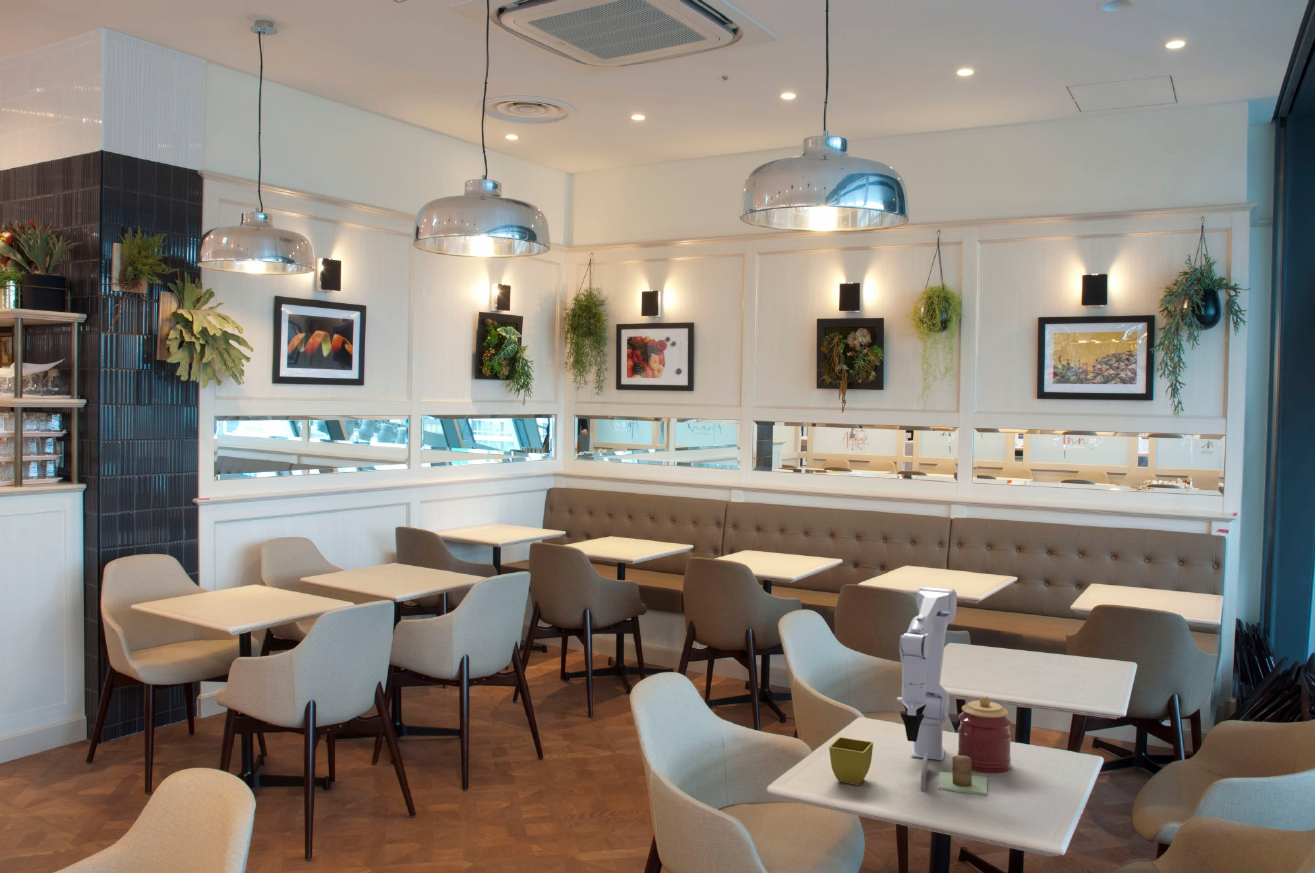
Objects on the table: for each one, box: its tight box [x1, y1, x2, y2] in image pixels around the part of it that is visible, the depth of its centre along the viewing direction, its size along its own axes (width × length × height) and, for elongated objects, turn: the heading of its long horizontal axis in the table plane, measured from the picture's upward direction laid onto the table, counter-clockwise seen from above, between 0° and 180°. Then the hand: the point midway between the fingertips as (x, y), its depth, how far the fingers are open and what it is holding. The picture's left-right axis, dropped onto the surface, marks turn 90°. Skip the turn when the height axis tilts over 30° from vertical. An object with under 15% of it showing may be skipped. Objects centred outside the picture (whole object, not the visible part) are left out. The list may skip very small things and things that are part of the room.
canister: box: [957, 695, 1012, 774], centre depth 247 cm, size 13×13×18 cm
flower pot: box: [828, 736, 874, 786], centre depth 235 cm, size 9×9×9 cm
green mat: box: [937, 771, 988, 796], centre depth 234 cm, size 11×11×1 cm
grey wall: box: [920, 753, 929, 792], centre depth 236 cm, size 16×1×4 cm, turn 162°
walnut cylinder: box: [951, 754, 973, 787], centre depth 233 cm, size 4×4×6 cm
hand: (913, 736), depth 240 cm, fingers open, 7 cm apart
